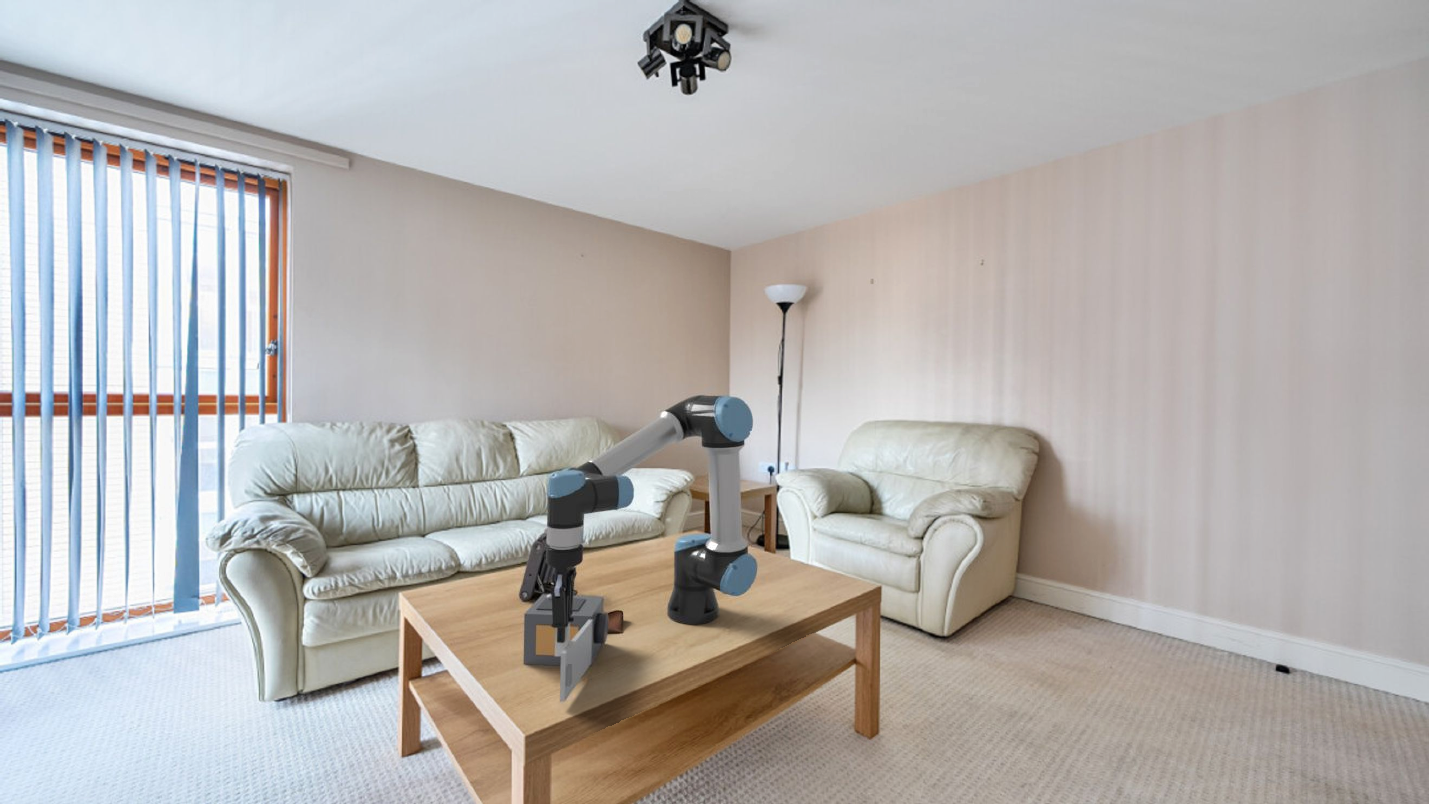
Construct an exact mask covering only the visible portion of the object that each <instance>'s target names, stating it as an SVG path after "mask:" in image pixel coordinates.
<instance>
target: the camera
mask: <svg viewBox="0 0 1429 804" xmlns="http://www.w3.org/2000/svg"><path fill="white" fill-rule="evenodd" d="M547 546H548V544H547V533H545V532H544V531H543V533H541V534H540V536H538V538H537V539H536V540H535V541H533V542H532V545H531V546H530V551H529V555H528V558H527V562H526V567H525V569H524V573H523V579H522V582H521V585H520V588H519V592H518V597H519V599H520V600H521V601H523V602H526V601H530V599H531V598H532V597H533V596H534V595H535V594H536V593H539V594H541V595H542V594H545V595H548V594H551V591H550V590H551V587H554V583H553V581H552V579H553V574H555V571H556V569H555V568H554V567H551V566H549V565H547V563H546V547H547ZM573 568H576V569H577V566H574V567H573ZM577 573H578V572H577V571H576V572H575V578H577V577H576V576H577ZM577 593H578V590H576V589H574V594H573V596H576V594H577Z"/></svg>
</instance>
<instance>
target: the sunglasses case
mask: <svg viewBox="0 0 1429 804" xmlns="http://www.w3.org/2000/svg"><path fill="white" fill-rule="evenodd" d="M603 613H608V617H609V626H608V634H623V633H624V611H623V610H620V609H619V610H618V609H617V610H610V611H603Z"/></svg>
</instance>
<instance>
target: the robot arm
mask: <svg viewBox="0 0 1429 804" xmlns="http://www.w3.org/2000/svg"><path fill="white" fill-rule="evenodd" d="M753 424H754V417H753V414H752V410H751V408H750V407H749V405H748V404H747V403H746V402H745V400H743V399H741V398H739V397H736V396H730V395H703V394H701V395H700V394H699V395H694V396H690V397H688V398H685V399H684V400H681V401H680V402H677V403H676V404H674V405H672V406H671V407H668V408H667V409H665V410H663V411H661V412H660V413H659V415H658V419H656V420H654V421H652V422H651V423H649V424H647V425H646V426H644V427H642V428H641V429H639V430H637V431H636V432H634V433H633V434H631V435H629V436H627V437H626V438H625V439H623V440H621V441H620V442H618V443H616V444H614V445H612V446H611V447H609V448H608V449H606V450H605V451H603V452H601V453H600V454H598V455H596V456H595V457H593V458H592V459H589V460H588V461H587V462H585V463H583V464H581V465H579V466H578V467H566V468H564V469H562V470H557V471H553V472H552V473H550V475H549V476H548V482H547V492H546V496H547V497H546V498H547V502H546V503H547V505H546V506H547V507H546V508H547V511H546V512H547V513H546V514H547V515H546V517H547V518H546V528H544V530H543V533H544V532H545V533H547V544H548V546H547V547H546V563H547V565H549V566H551V567H554V568H555V569H556V571H555V574H553V579H552V581H553V583H552V584H554V587H551V590H550V591H551V596H552V616H553V623H552V625H551V627H553V628H555V656H561V652H562V651H563V650H564V649H565V648H566V646H567V645H568V644H569V639H570V623H568V622H573V621H574V618H570V616H571V615H572V613H573V611H572V608H573V594H574V590H575V580H576V577H575V572H577V566H579V565H580V564H582V562H583V560H584V557H583V556H584V552H583V551H584V545H583V543H584V541H585V540H584V537H585V536H584V534H585V533H584V532H585V531H584V530H585V529H584V528H585V525H584V524H585V523H584V522H585V521H584V520H585V515H587V514H594V513H601V512H606V511H607V512H608V511H609V512H610V511H618V510H620V509H623V508H624V509H625V508H627V507H629V506H630V505H631V504H632V503H633V500H634V496H635V493H634V492H635V488H634V484H633V482H632V480H631V479H630V478H629V477H628V475H625V474H626V473H628V472H629V471H630V470H632V469H633V468H635V467H637V466H638V465H640V464H641V463H643V462H645V461H646V460H647V459H649V458H650V457H652V456H654V455H655V454H657V453H658V452H659V451H661V450H663V449H664V448H666V447H667V446H669V445H670V444H672V443H675V444H676V443H677V444H678V443H681V442H682V441H683V440H684V439H685V440H686V439H687V438H692V437H700V438H701V448H702V449H704V450H705V451H706V452H707V467H708V474H707V475H708V496H709V501H708V502H709V523H710V524H709V525H710V527H709V528H710V534H709V533H693V534H685V535H682V536H679V537H678V538H677V539H676V541H675V542H674V543H675V544H674V550H673V552H674V553H673V555H674V556H673V557H674V558H673V559H674V561H673V565H674V566H673V588H672V589H673V590H672V591H671V595H670V597H669V600H668V604H667V609H666V610H667V612H666V615H667V616H668V618H669V619H671V620H672V621H675V622H677V623H680V624H686V625H700V624H701V625H703V624H706V623H710V622H712V621H714V620H716V619H717V618H718V617H719V614H720V613H719V611H720V607H719V603H718V599H717V597H716V592H715V591H719V592H721V593H722V594H723V595H729V596H732V597H739V596H742V595H745V593H747V591H749V590H750V589H751V587H752V585H753V584H754V582H755V580H756V578H757V573H758V562H757V559H756V558H755V557H754V556H753V555H752V554H751V553H749V544H748V541H747V540H746V539H745V538H744V537H743V527H742V501H741V500H742V497H741V467H740V465H741V464H740V451H741V449H743V448H744V447H745V444H746V443H745V440H746V439H748V438H749V437H750V434H751V431H752V429H753V428H754V427H753V426H754V425H753ZM574 566H575V567H576V568H575V567H574ZM573 567H574V568H573Z"/></svg>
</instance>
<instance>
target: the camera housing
mask: <svg viewBox="0 0 1429 804" xmlns="http://www.w3.org/2000/svg"><path fill="white" fill-rule="evenodd" d="M604 599H605V597H604V596H594V595H575V596H573V608H572V611H573V613H572V615H571V616H570V618H574V621H573V622H568V623H570V639H569V643H570V642H571V640H572V639H573V638H574V637H575V635H576V634H577V633H578V632H579V631H580V629H581V628H582V627H583V626H584V625H585V623H586V622H587V621H588V619H593V649H592V663H591V664H590V666H589V667H588V668H590V667H591V666H592V664H593V662H594V661H595V658H596V657H597V655H598V652H599V651H600V649H601V647H602V645H604V644H606V641H607V637H608V634H609V633H608V626H609V617H608V613H603V612H604V603H605V601H604ZM523 618H524V619H523V665H537V664H538V665H540V666H543V665H544V666H561V656H555V628H553V627H551V625H552V623H553V616H552V596H551V594H548V595H545V594H542V593H541V595H540V597H539V598H538V599H537V600H536V601H535V602H534V603H532V605H531V606H530V607H529V608H528V609H527V610H526V612H524V617H523ZM538 665H537V666H538Z"/></svg>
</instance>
